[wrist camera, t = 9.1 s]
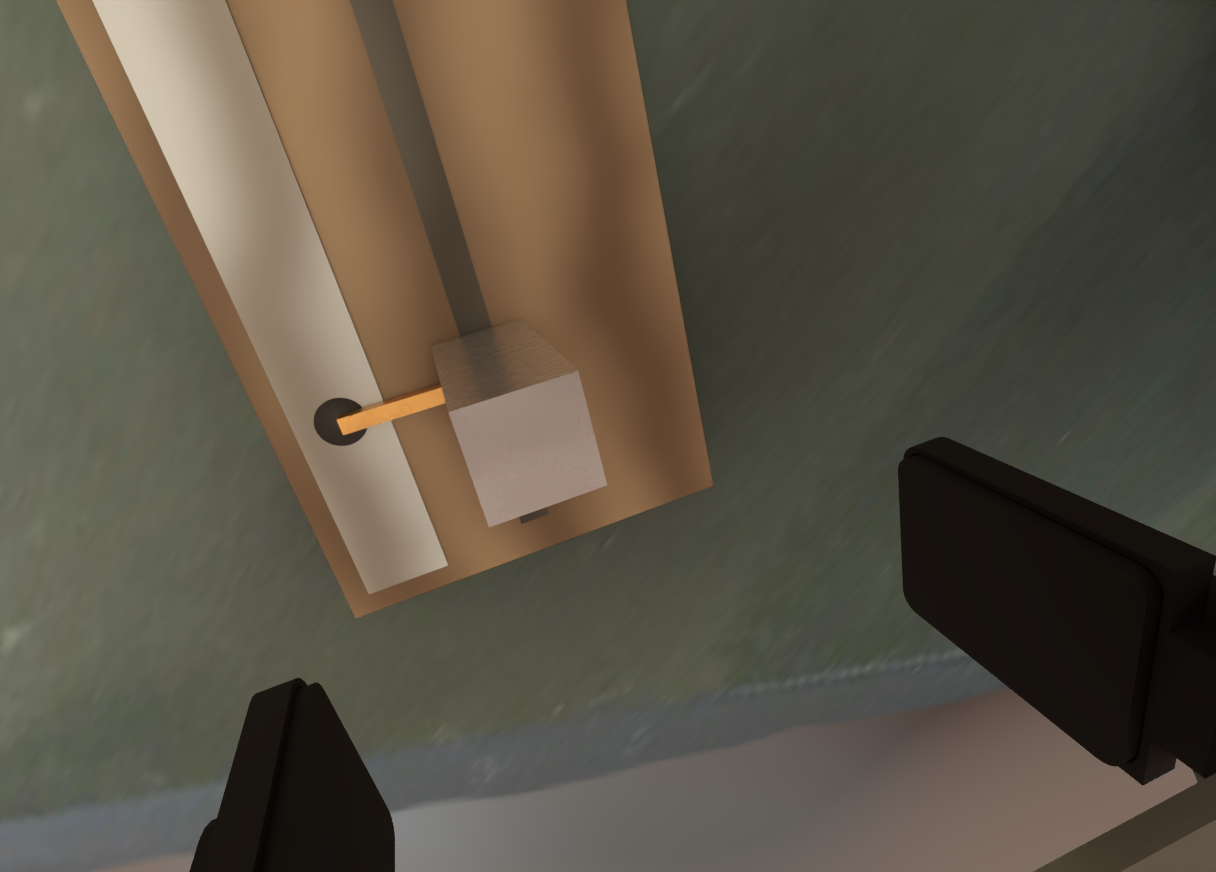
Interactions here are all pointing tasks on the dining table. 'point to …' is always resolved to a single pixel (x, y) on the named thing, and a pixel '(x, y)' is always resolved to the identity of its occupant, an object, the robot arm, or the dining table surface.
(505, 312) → the rule board
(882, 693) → the dining table surface
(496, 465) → the sliding block with pointer
